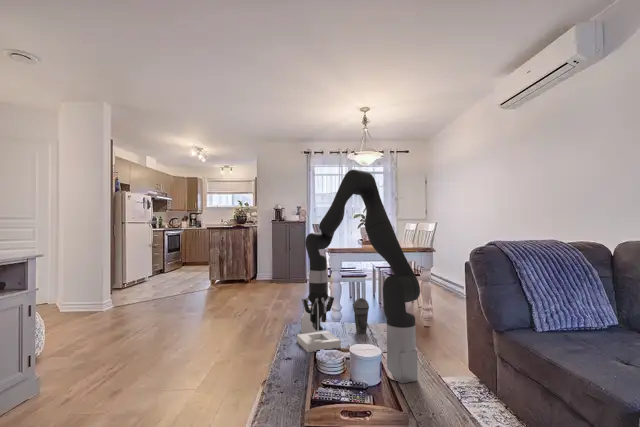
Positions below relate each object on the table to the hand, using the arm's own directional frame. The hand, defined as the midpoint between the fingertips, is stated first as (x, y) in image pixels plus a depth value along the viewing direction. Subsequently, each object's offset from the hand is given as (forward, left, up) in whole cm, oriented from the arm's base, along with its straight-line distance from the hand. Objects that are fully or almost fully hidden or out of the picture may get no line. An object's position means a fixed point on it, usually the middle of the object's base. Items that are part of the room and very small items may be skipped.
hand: (318, 322), depth 154 cm
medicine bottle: (+19, -3, -9) cm, 21 cm away
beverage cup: (+8, -24, -9) cm, 27 cm away
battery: (0, 0, -3) cm, 3 cm away
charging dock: (0, 0, -9) cm, 9 cm away
